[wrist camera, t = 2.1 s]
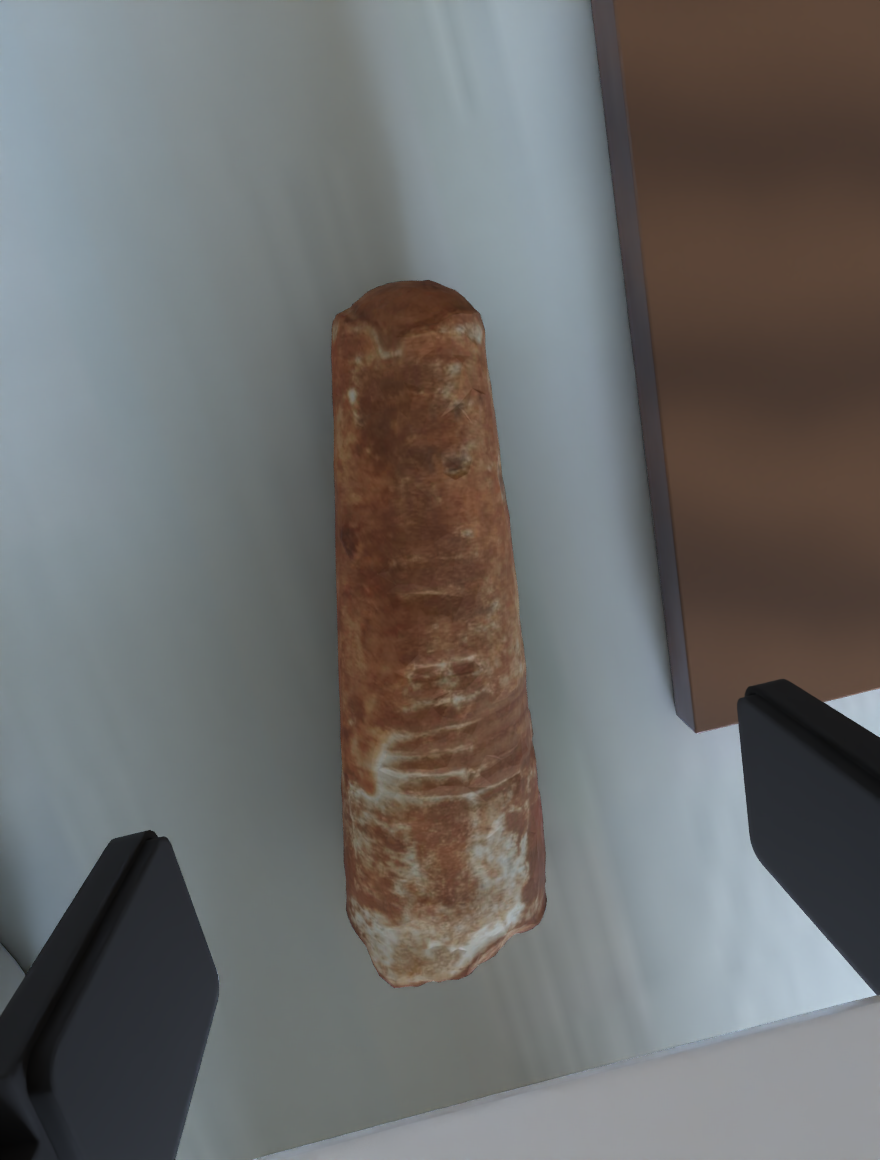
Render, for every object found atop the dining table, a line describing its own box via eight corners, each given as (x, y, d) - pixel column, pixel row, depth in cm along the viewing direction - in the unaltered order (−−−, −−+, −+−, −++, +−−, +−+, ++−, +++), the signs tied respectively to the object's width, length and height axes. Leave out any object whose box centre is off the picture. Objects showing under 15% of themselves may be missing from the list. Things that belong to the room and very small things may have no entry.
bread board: (586, -20, 17) (607, -59, 16) (1036, -100, 18) (1094, -145, 17) (675, 715, 23) (695, 735, 22) (1013, 631, 24) (1054, 645, 23)
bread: (349, 872, 23) (345, 1009, 18) (312, 294, 19) (290, 245, 13) (524, 856, 24) (570, 983, 19) (530, 293, 19) (594, 246, 14)
